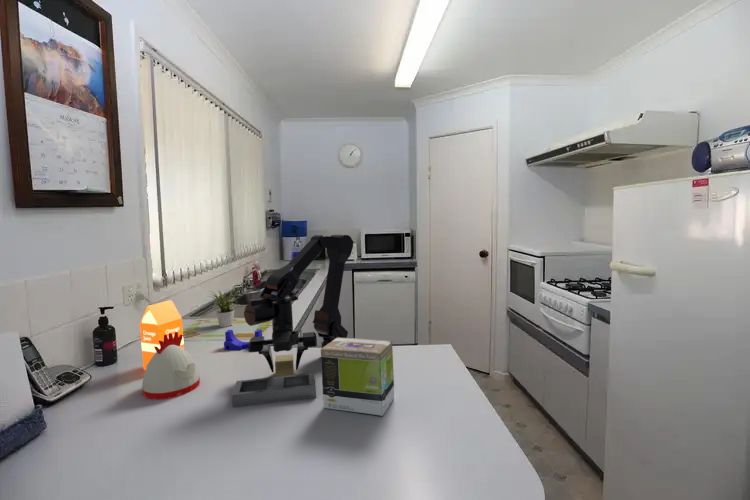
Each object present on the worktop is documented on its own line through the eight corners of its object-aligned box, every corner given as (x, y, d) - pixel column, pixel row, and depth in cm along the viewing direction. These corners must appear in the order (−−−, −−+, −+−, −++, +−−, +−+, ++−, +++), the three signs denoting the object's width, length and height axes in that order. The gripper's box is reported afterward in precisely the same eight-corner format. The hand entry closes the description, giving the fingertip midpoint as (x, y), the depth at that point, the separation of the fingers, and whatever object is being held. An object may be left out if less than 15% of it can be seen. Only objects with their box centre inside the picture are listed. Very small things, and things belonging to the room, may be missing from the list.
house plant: (197, 330, 165) (194, 290, 164) (216, 321, 179) (213, 284, 177) (230, 330, 163) (227, 290, 161) (246, 321, 177) (244, 284, 175)
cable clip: (224, 350, 139) (223, 333, 139) (229, 346, 144) (228, 329, 143) (258, 350, 139) (257, 333, 138) (262, 345, 143) (261, 329, 143)
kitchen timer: (210, 381, 113) (207, 329, 112) (167, 403, 101) (162, 344, 99) (176, 374, 119) (172, 324, 118) (130, 394, 107) (126, 338, 105)
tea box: (395, 398, 100) (393, 339, 98) (382, 417, 90) (380, 353, 89) (339, 391, 105) (337, 335, 103) (321, 409, 95) (319, 348, 94)
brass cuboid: (293, 370, 119) (293, 354, 119) (293, 377, 115) (293, 360, 114) (276, 372, 119) (275, 355, 118) (275, 379, 114) (274, 361, 113)
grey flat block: (314, 383, 110) (314, 372, 109) (316, 397, 101) (315, 385, 101) (237, 392, 106) (236, 380, 105) (232, 407, 97) (231, 395, 97)
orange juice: (143, 369, 123) (137, 305, 122) (167, 359, 132) (162, 299, 130) (161, 372, 120) (156, 306, 119) (185, 362, 129) (181, 300, 127)
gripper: (244, 328, 105) (248, 386, 107) (316, 322, 109) (319, 378, 110) (249, 317, 116) (252, 370, 118) (314, 312, 120) (317, 363, 121)
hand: (284, 370), depth 116 cm, fingers open, 6 cm apart
